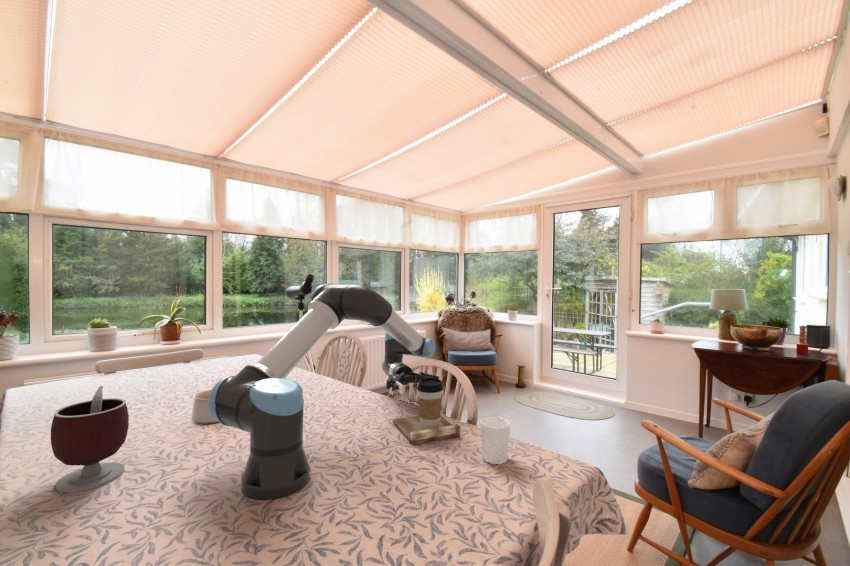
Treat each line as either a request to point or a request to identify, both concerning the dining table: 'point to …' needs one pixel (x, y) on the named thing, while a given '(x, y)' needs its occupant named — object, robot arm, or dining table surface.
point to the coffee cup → (430, 402)
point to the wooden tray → (417, 435)
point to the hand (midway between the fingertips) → (421, 388)
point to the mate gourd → (89, 441)
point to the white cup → (495, 439)
